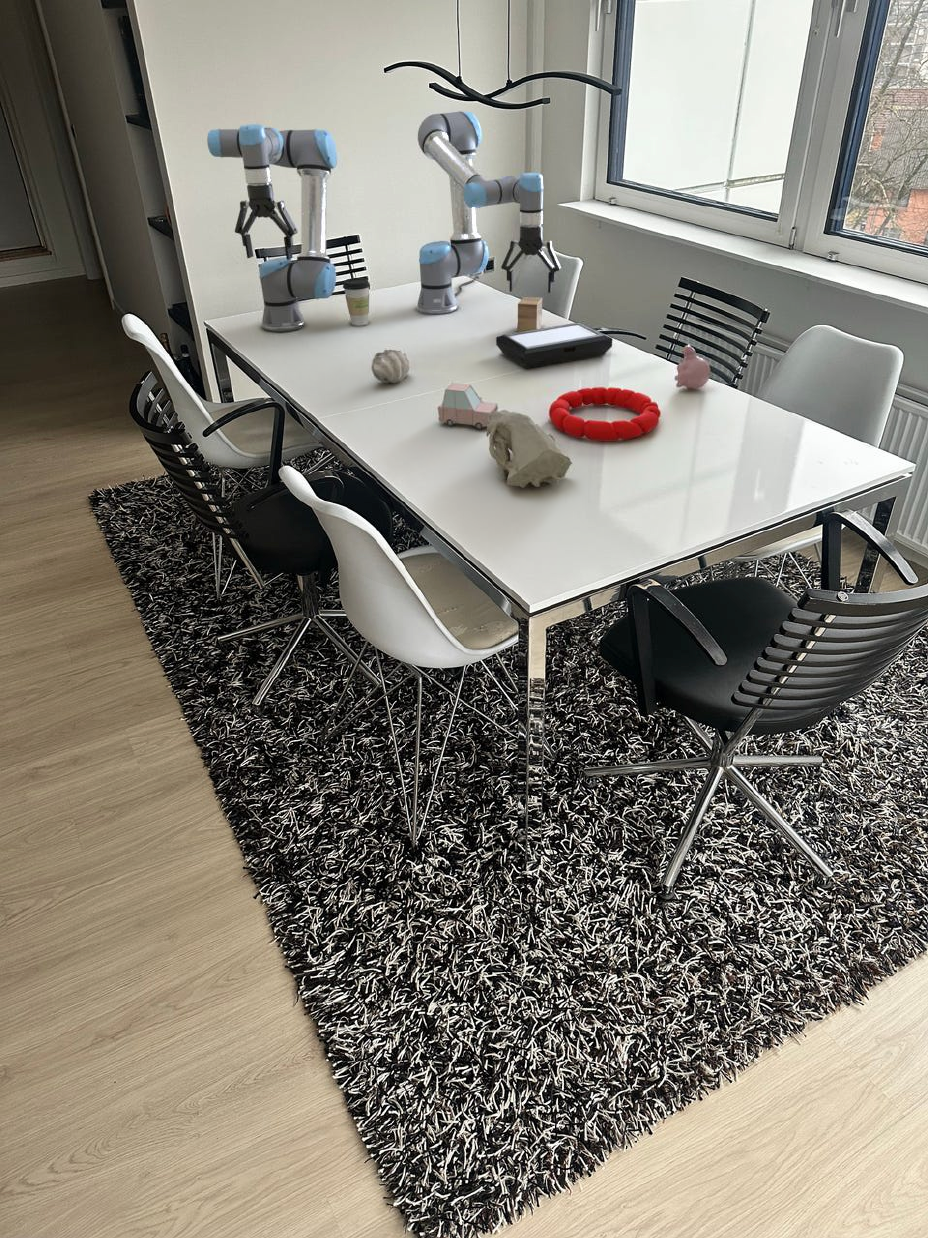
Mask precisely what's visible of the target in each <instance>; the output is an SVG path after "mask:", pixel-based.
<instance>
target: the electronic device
mask: <svg viewBox="0 0 928 1238" xmlns="http://www.w3.org/2000/svg"><path fill="white" fill-rule="evenodd" d="M495 339H496V340H495V341H496V342H495V345H496V347H497V348H498V349H499V351H500V352H501V353H502V355H504V356H505V357H508V358H509V359H511V360H512V361H514V362H515V363H517V364H518V365H521V366H522V367H523V368H524V369H525V370H527V369H530V368H535V367H542V366H546V365H553V364H558V363H565V362H569V361H576V360H580V359H587V358H592V357H597V356H603V355H606V354H607V352H608V351H610V349H611V348H612V347H613V338H612V337H610V336H608V335H606V334H605V333H602V332H601V331H598V330H597V329H594V328H593V327H590V326H588V325H586V324H584V323H583V322H573V323H572V322H571V323H567V324H561V325H554V326H548V327H543V328H542V327H541V328H540V329H536V330H530V331H524V332H518V331H517V332H513V333H507V334H502V335H498V336H496V337H495Z"/></svg>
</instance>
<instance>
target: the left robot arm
mask: <svg viewBox="0 0 928 1238" xmlns="http://www.w3.org/2000/svg"><path fill="white" fill-rule="evenodd" d="M206 142H207V143H206V144H207V148H208V151H209V153H210V154H211V155H212V156H213V157H214V158H235V159H236V158H237V159H242V162H243V168H244V177H245V183H246V184H247V186H246V188H247V189H246V190H247V197H248V199H249V201H247V200H246V199H243V200H241V201H240V202H239V212H238V216H237V220H236V223H235V229H234V233H235V234H238V235H240V236H241V241H242V242H241V243H242V246H243V247H245V252H246V253H245V254H246V258H247V259H251V258H254V250H253V246H252V245H253V244H252V240H251V239H252V238H251V234H250V233H249V231H250V229H251V227H252V226H253V224H254V222H256V219H257V218H265V219H267V218H269V219H270V220H271V221H273V222H274V224H275V225H276V226H277V227H278V229H279V230H280V231H281V232H282V233H283V234H284V235H285V236H283V242H284V250H285V256H284V257H277V258H272V259H268V260H266V261H263V262H261V263H260V265H259V266H258V273H259V281H260V287H261V292H262V293H261V294H262V299H263V313H262V319H261V326H262V330H264V331H265V332H271V333H286V332H293V331H296V330H297V331H298V330H300V329H302V328H304V326H305V319H304V317H303V314H302V312H301V310H300V307H299V306H298V305H299V304H298V302H299V301H300V300H301V299H316V300H320V299H329V298H330V297H331V296H332V295H333V293H334V291H335V288H336V283H337V282H336V281H337V272H336V267H335V265H334V264H333V263H332V262H331V258H330V257H329V256H328V254H327V180H329V178H330V177H331V176H332V169H335V168H336V167H337V164H338V153H337V147H336V144H335V140H334V138H333V135H332V134H331V133H330V132H329V130H325V129H317V128H314V129H286V130H285V129H284V130H278V129H276V128H275V127H264V126H263V125H262V124H260V123H259V124H258V123H257V124H256V123H255V124H254V123H253V124H243V125H240V126H239V128H238V129H237V128H234V129H233V128H227V129H225V128H224V129H220V128H217V129H216V128H215V129H210V130H209V131H208V133H207V136H206ZM270 165H272V166H276V167H277V166H278V167H281V168H288V169H296V174H297V175H298V176H299V177H300V180H301V181H300V182H301V183H300V185H301V186H300V187H301V188H300V197H301V198H300V201H301V203H300V206H301V208H300V209H301V211H300V216H301V217H300V218H301V220H300V221H301V222H300V223H301V224H300V225H301V226H300V229H301V230H300V231H301V235H300V237H301V238H300V239H301V240H300V241H301V243H300V245H301V247H300V250H301V251H300V253H299V254H298V255H297V256H296V262H293V260H292V259H293V258H294V257H293V250H292V248H293V247H294V238H293V236H294V235H296V234H298V233H299V232H298V229H297V227H296V225H295V223H294V221H293V220H292V218H291V215H290V214H289V212H288V210H287V208H286V205H285V201H284V200H280V201H275V199H274V189H273V184H272V183H271V182H272V174H271V168H270ZM249 208H250V210H251V212H250V213H249V216H248V218H247V220H246V217H247V213H248V209H249ZM275 209H276V210H278V212H277V211H276V210H275ZM278 213H279V214H280V216H281V217H280V216H279V214H278ZM281 218H282V219H281ZM245 220H246V222H245Z"/></svg>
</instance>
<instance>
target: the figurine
mask: <svg viewBox="0 0 928 1238" xmlns="http://www.w3.org/2000/svg"><path fill="white" fill-rule="evenodd" d="M682 354H683V358H684V359H683V361H682V362H679V363H678V364H677V365H676V372H677V375H675V376H674V381H675V382H676V381H677V382H676V384H675V386H676V388H681V387H686V388H688V389H693V390H694V389H695V390H696V389H700V388H703V387H704V386H705V385H706V384H707V383H708V382H709V379H710V377H711V367H710V364H709V362H708V361H706V359H704V358H702V357H700V356H697V353H696V350H695V349H694V347H692V345H690V344H686V345H685V346H684V347H683V348H682Z"/></svg>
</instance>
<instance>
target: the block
mask: <svg viewBox="0 0 928 1238" xmlns="http://www.w3.org/2000/svg"><path fill="white" fill-rule="evenodd" d="M542 325H543V297H534V296H533V297H532V296H531V297H530V296H523V297H522V298H521V299H520V301H519V302H518V303H517V333H518V332H524V331H530V330H536V329H542V327H543V326H542Z"/></svg>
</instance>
